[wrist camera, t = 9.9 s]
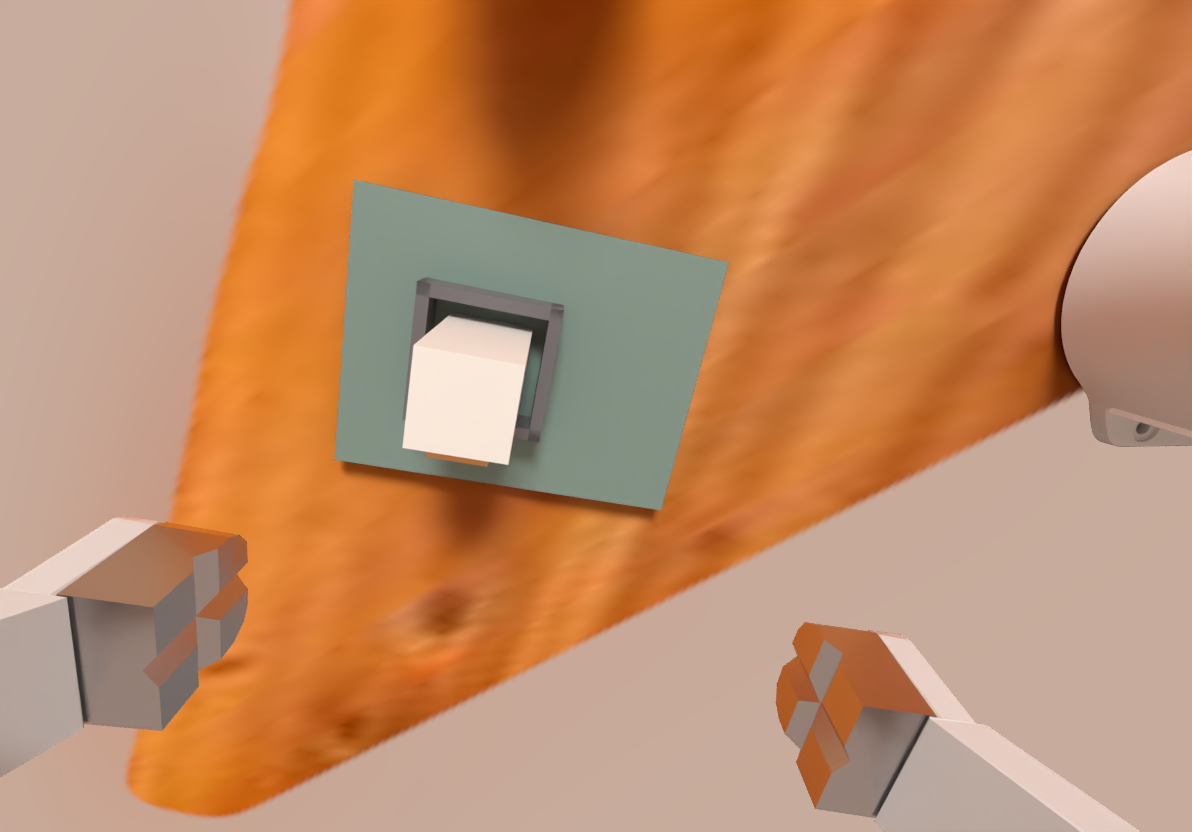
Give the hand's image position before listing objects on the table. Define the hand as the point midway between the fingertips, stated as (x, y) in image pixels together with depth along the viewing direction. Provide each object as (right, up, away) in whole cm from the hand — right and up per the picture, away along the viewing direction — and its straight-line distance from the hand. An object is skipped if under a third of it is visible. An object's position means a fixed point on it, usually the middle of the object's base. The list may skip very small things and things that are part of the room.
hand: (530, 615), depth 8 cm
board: (-3, +6, +21) cm, 22 cm away
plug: (-5, +6, +20) cm, 21 cm away
